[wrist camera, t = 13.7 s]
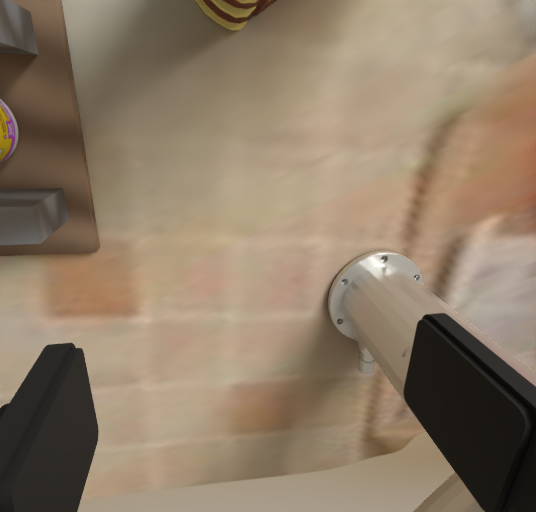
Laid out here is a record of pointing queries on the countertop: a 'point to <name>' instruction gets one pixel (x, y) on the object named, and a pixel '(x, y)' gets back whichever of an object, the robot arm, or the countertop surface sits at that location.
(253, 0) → the decorative book
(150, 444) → the countertop surface
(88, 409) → the robot arm
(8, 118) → the supplement bottle
